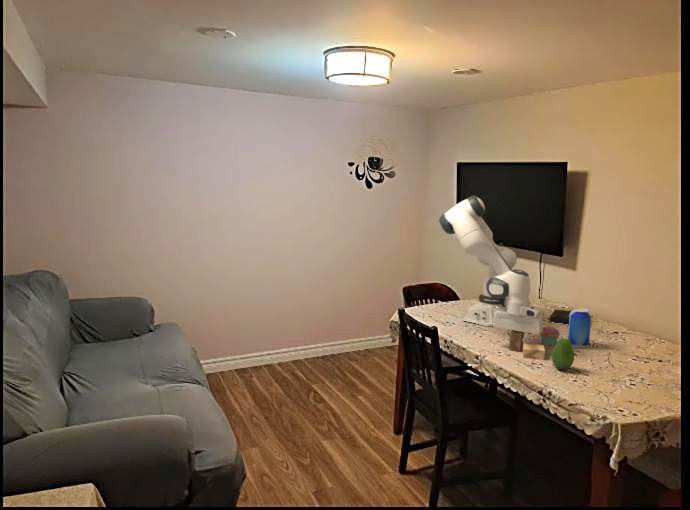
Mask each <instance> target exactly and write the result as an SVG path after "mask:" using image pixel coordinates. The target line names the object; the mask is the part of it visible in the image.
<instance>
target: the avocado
mask: <svg viewBox="0 0 690 510" xmlns="http://www.w3.org/2000/svg"><path fill="white" fill-rule="evenodd" d="M574 352H575V351H574V347H572V344H571V341H570V340H568V338H561V339H558V341H557V343H556V344H555V346H554V347H553V350H552V351H551V360H552V364H553V366H554V367H555V368H556V369H558V370H561V371H566V370H568V369H570V368H571V367H572V366H573V363H574V361H575V353H574Z"/></svg>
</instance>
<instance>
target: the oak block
mask: <svg viewBox="0 0 690 510" xmlns="http://www.w3.org/2000/svg"><path fill="white" fill-rule="evenodd" d="M545 354H546V349H545V346H544V345H543V344H534V343H533V344H532V343H526V342H523V350H522V358H523V359H528V358H530V360H539V359H542V361H544V360H545ZM531 358H532V359H531Z"/></svg>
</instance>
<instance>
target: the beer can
mask: <svg viewBox="0 0 690 510" xmlns="http://www.w3.org/2000/svg"><path fill="white" fill-rule="evenodd" d="M570 311H571V313H570V316H569V325H568V334H567V335H568V336H567V337H568V338H567V339H568V340H570V341H571V344H572V347H573V349H574V348H575V349H587V348H588V347H589V346H590V340H591V339H590V337H591V323H592V315H591V313H590V311H589V309H588V308H587V309H586V308H582V307H581V308H580V307H576V308H575V307H574V308H572V310H570Z"/></svg>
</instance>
